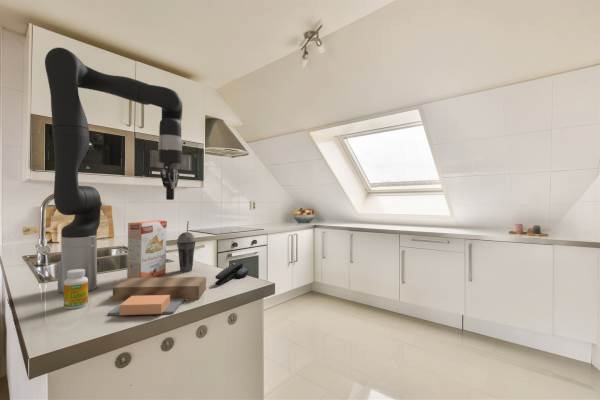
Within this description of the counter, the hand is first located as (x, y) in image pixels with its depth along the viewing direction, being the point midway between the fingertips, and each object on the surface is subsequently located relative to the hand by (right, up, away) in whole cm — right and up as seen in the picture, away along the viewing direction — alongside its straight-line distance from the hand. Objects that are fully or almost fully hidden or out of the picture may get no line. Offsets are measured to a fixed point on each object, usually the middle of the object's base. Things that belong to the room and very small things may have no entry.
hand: (170, 199), depth 105 cm
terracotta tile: (+5, -28, -26) cm, 38 cm away
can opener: (+20, -30, +5) cm, 36 cm away
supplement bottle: (-16, -29, -22) cm, 40 cm away
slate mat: (+4, -29, -23) cm, 37 cm away
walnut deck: (+3, -29, -12) cm, 32 cm away
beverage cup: (-1, -29, +17) cm, 34 cm away
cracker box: (-11, -29, +6) cm, 32 cm away
